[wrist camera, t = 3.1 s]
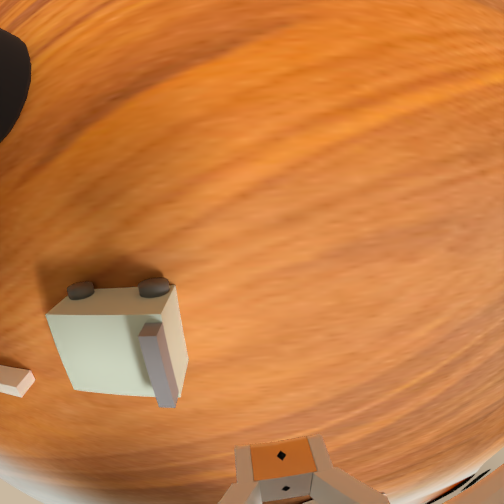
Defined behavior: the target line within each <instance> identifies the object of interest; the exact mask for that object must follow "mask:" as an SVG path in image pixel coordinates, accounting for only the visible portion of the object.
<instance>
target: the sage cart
mask: <svg viewBox="0 0 504 504" xmlns="http://www.w3.org/2000/svg"><path fill="white" fill-rule="evenodd" d="M67 292H68V296H66V297H65V298H64V299H63V300H62V301H60V302H59V303H58V304H57V305H56V306H54V307H53V308H52V309H51V310H50V311H49V312H48V313H46V314H45V315H46V318H47V321H48V324H49V327H50V330H51V333H52V336H53V339H54V341H55V344H56V347H57V350H58V352H59V355H60V357H61V360H62V362H63V365H64V367H65V370H66V372H67V374H68V377H69V379H70V381H71V383H72V386H73V388H74V390H80V391H88V392H96V393H106V394H117V395H130V396H148V397H156V399H157V402H158V405H159V407H167V408H175V407H176V403H177V398H178V397H181V392H182V388H183V383H184V378H185V374H186V369H187V364H188V360H189V359H188V354H187V349H186V344H185V338H184V333H183V328H182V322H181V316H180V310H179V304H178V298H177V292H176V285H169V282H168V280H167V279H166V278H151V279H147V280H144V281H142V282H140V283H139V284H138V287H125V288H101V289H94V287H93V283H92V282H89V281H85V282H79V283H75V284H73V285H71V286H69V287H68V288H67Z"/></svg>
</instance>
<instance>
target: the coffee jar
mask: <svg viewBox="0 0 504 504" xmlns="http://www.w3.org/2000/svg"><path fill="white" fill-rule="evenodd" d="M30 82H31V63H30V57H29V54H28V50H27V47H26V45H25V43H23V42H22V41H21V40H20V39H19V38H18V37H16V36H14V35H12V34H11V33H9V32H7V31H5V30H3V29H1V28H0V143H1V141H2V140H3V139H4V138H5V137H6V136H7V135H8V133H9V132H10V131H11V129H12V128H13V126H14V124H15V122H16V121H17V119H18V118H19V116H20V113H21V111H22V108H23V106H24V103H25V101H26V99H27V94H28V90H29V86H30Z"/></svg>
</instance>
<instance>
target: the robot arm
mask: <svg viewBox="0 0 504 504" xmlns="http://www.w3.org/2000/svg"><path fill="white" fill-rule="evenodd" d="M235 464H236V478H237V483H232V485H231V486H230V488H229V489H228V490H227V492H226V493H225V494H224V496H223V497H222V498H221V500H220V501H219V502H218V504H262V502H267V501H274V500H280V499H286V498H293V497H300V496H306V495H310V497H312V498H313V499H314V500H311V501H308V502H305V503H302V504H390V503H389V500H388V498H387V496H386V494H381V493H380V492H378V491H376V490H374V489H373V488H371V487H369V486H368V485H366V484H364V483H363V482H361V481H359V480H358V479H356V478H354V477H353V476H351V475H350V474H348V473H346V472H345V471H343V470H342V469H340V468H339V467H335V468H334V467H333V465H332V462H331V459H330V456H329V454H328V451H327V448H326V445H325V443H324V440H323V437H322V435H321V434H315V435H311V436H304V437H298V438H293V439H287V440H281V441H278V442H270V443H260V444H249V445H237V446H235ZM442 504H504V464H503V465H501V466H500V467H499V468H497V469H496V470H495V471H493V472H492V473H490V474H489V475H488V476H486V477H485V478H483V479H482V480H480V481H479V482H477V483H476V484H474V485H473V486H471V487H470V488H468V489H466V490H465V491H463V492H462V493H460V494H458V495H457V496H455V497H453V498H451V499H450V500H448V501H446V502H444V503H442Z"/></svg>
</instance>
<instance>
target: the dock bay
mask: <svg viewBox="0 0 504 504" xmlns="http://www.w3.org/2000/svg"><path fill="white" fill-rule="evenodd" d="M34 381H35V378H34V376H33V374H32V372H31V370H26V369H20V368H14V367H8V366H3V365H0V392H2V393H6V394H10V395H14V396H18V397H23V395H24V394H25V393H26V391H27V390H28V389H29V388H30V386H31V385H32V384H33V382H34Z"/></svg>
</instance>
